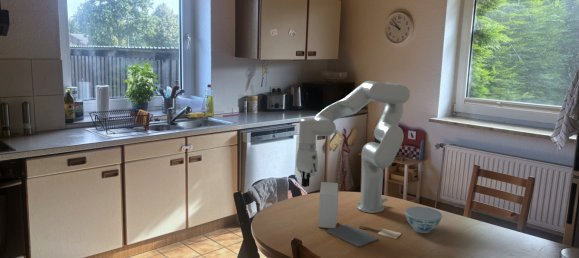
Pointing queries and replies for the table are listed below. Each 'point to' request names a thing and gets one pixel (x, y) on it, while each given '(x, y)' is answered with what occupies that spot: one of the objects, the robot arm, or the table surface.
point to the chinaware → (423, 218)
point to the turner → (382, 232)
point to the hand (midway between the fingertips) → (305, 186)
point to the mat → (352, 235)
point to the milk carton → (328, 205)
